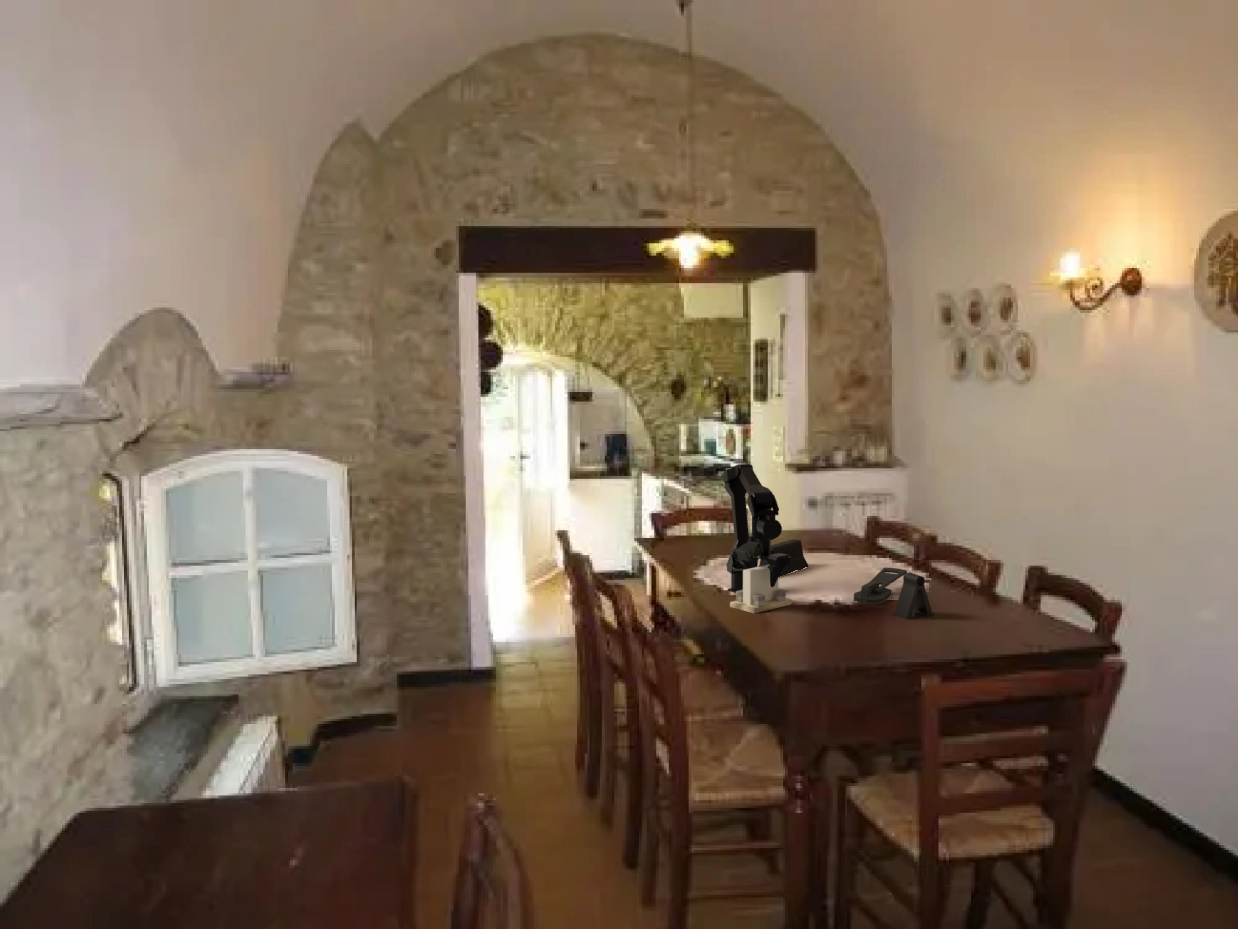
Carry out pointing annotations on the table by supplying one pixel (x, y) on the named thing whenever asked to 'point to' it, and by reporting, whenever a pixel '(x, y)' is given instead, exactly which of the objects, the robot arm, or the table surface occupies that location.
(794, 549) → the barrier
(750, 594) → the cabinet door panel
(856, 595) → the zipper pull
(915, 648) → the table surface
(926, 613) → the black pivot stand
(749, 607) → the hinge clip plate
